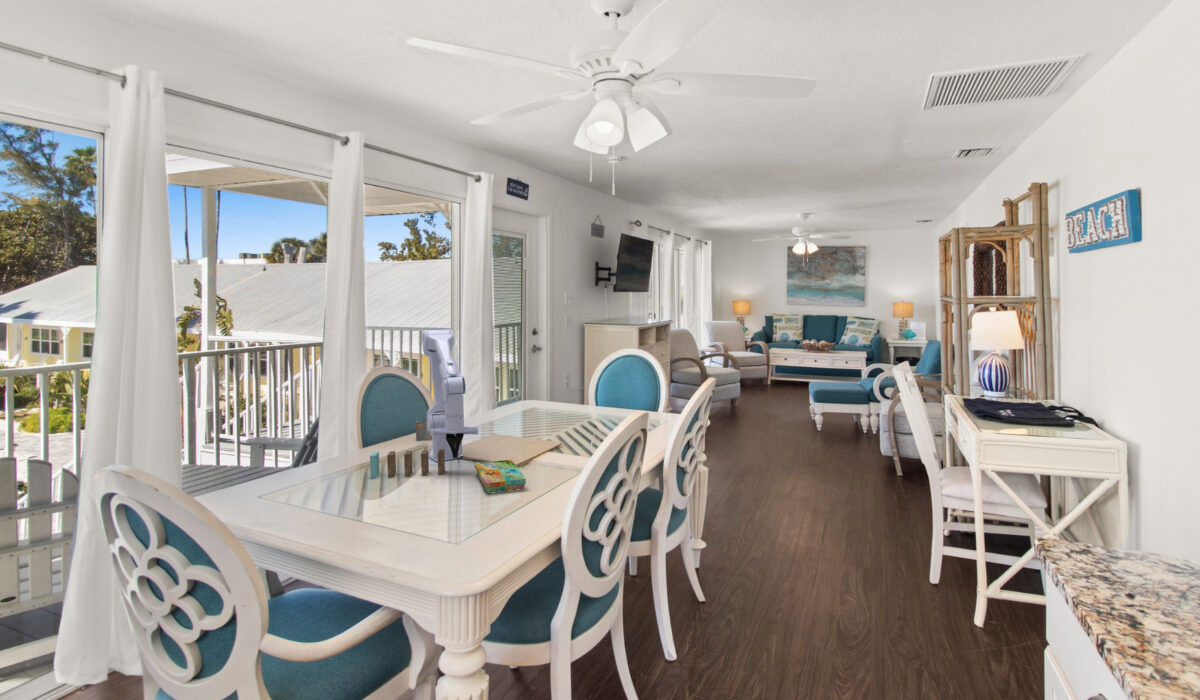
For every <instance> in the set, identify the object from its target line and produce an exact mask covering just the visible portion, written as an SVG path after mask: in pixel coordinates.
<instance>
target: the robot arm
mask: <svg viewBox="0 0 1200 700" xmlns="http://www.w3.org/2000/svg"><path fill="white" fill-rule="evenodd" d="M421 336H422V337H421V338H422V339H421V341H422V352H423V355H424V356H426V357H428V358H429V362H430V371H431V384H432V391H433V403H434V404H433V405H431V406H430V408H428V410H427V412H426V420H427V428H428V431H429V432H430V433H431V436H432V440H431V441H432V444H431V445H432V446H431V447H432V454H430V455H429V454H428V458H429V459H431V460H433V461H435V462H437V463H438V451H439V449H444V453H445V461H449V460H454V459H460V457H461V456H460V455H463V439H464V436H465V435H479V427H478V426H475V427H474V426H465V416H464V415H465V413H464V411H465V409H464V407H465V406H464V405H465V404H464V395H465V394H466V391H467V389H466V379H465V377H464V376H463V374H462V373H461V374H460V370H459V366H458V363H457V361H456V360H454V359H453V358H452V357H453V355H452V350H453V347H454V344H455V335H454V331H453V330H452V329H451V328H450V329H433V330H432V329H431V330H429V329H428V330H427V329H424V330H423V331H422V335H421ZM461 458H462V457H461Z"/></svg>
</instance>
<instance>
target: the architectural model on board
mask: <svg viewBox="0 0 1200 700" xmlns="http://www.w3.org/2000/svg"><path fill="white" fill-rule="evenodd" d="M415 436H416V437H415V438H416V439H415V440H416V442H422V441H423V442H424V441H427V442H428V441H432V436H431V433H430V432H429V431H428V428H427V419H426V420H422V421H418V420H416V421H415Z"/></svg>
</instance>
